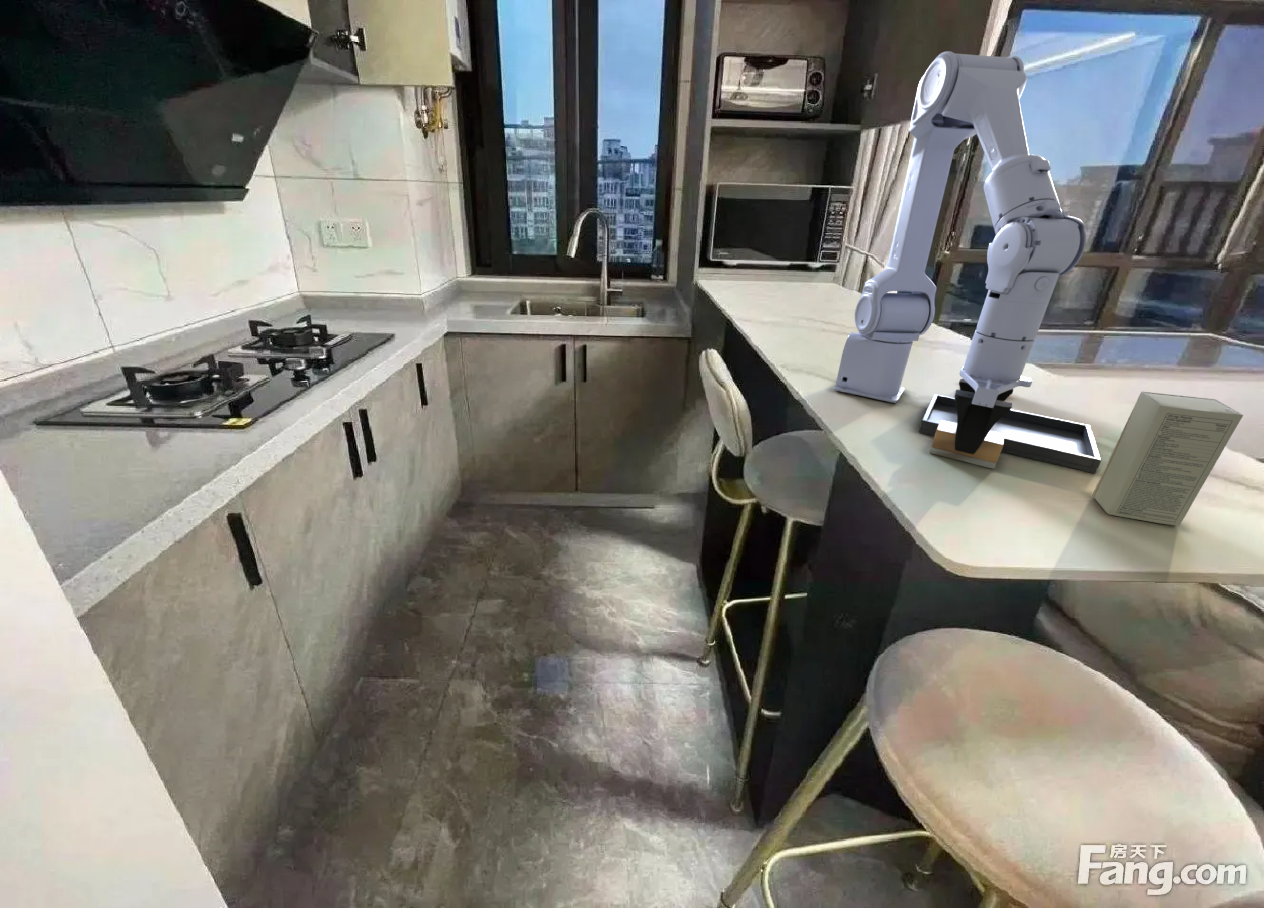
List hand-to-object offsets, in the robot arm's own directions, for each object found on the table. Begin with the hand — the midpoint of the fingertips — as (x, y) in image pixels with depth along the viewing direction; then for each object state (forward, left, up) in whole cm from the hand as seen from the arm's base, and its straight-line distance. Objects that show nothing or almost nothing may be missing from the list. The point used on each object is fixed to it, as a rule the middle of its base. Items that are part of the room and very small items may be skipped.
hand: (965, 444), depth 66 cm
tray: (+4, +11, -1) cm, 12 cm away
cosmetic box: (+16, -4, -2) cm, 17 cm away
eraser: (0, 0, -1) cm, 1 cm away
